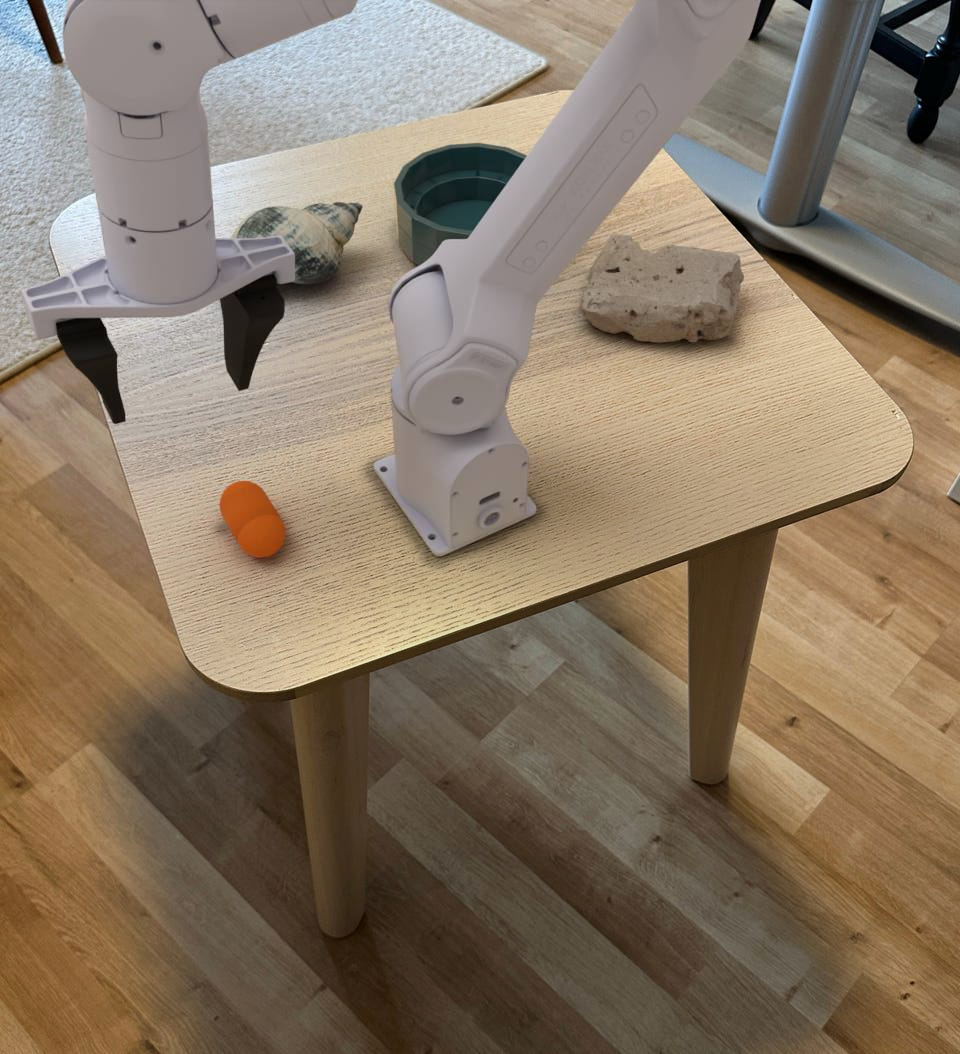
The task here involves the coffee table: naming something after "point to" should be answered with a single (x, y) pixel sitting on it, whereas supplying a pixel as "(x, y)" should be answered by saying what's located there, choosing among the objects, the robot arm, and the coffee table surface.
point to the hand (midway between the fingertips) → (177, 395)
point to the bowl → (448, 194)
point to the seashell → (307, 235)
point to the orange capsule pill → (252, 519)
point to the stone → (662, 291)
